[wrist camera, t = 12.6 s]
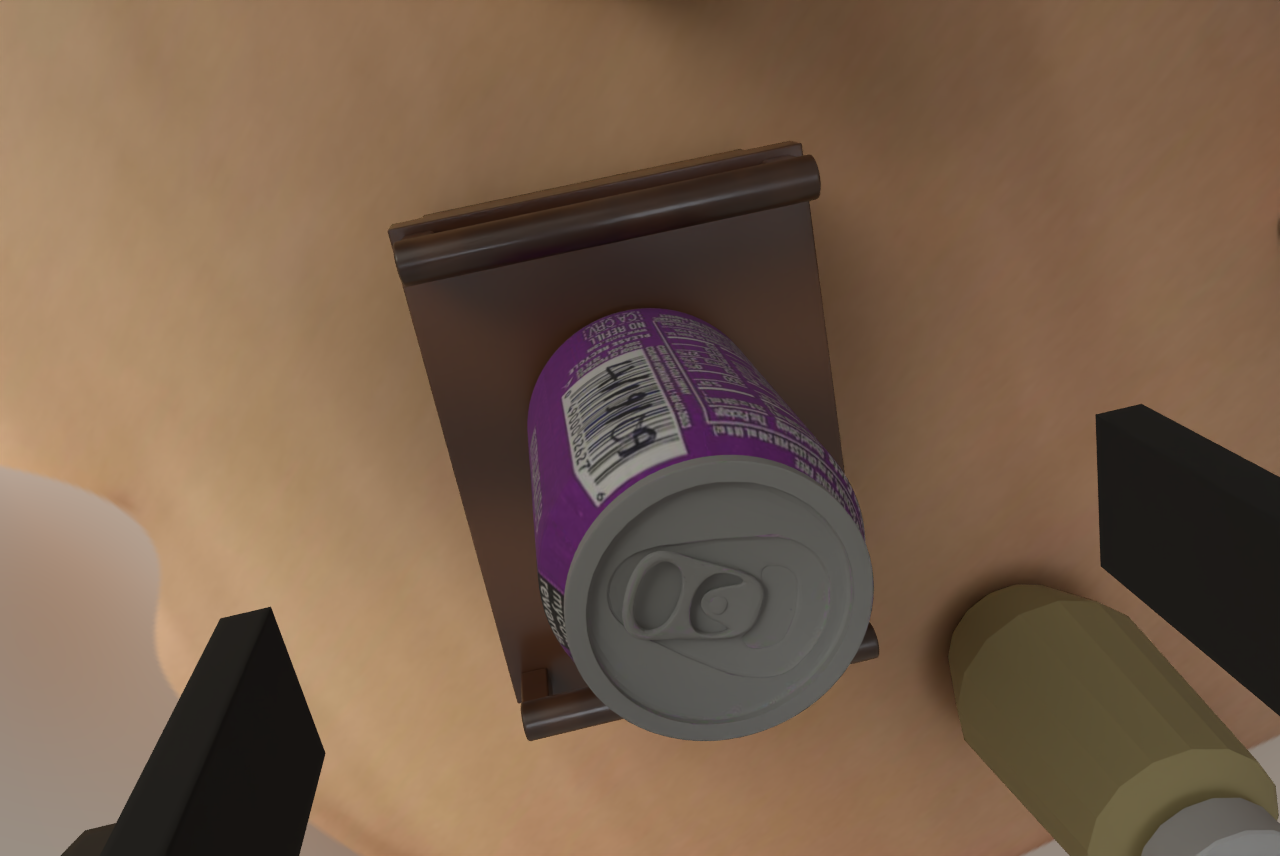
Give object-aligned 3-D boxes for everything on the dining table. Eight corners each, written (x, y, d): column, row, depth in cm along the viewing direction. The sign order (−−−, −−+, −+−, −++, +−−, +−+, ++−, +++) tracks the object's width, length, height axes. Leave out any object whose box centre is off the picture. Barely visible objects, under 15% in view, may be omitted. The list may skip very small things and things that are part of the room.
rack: (407, 203, 34) (375, 245, 26) (750, 131, 35) (830, 148, 26) (515, 608, 40) (518, 754, 31) (810, 540, 41) (892, 665, 32)
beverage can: (506, 502, 31) (507, 739, 20) (553, 280, 29) (583, 405, 18) (723, 538, 33) (838, 780, 22) (783, 328, 31) (944, 473, 19)
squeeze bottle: (1014, 521, 41) (1364, 825, 25) (1138, 621, 44) (1535, 960, 27) (882, 664, 43) (1128, 1043, 26) (1010, 753, 45) (1310, 1153, 28)
